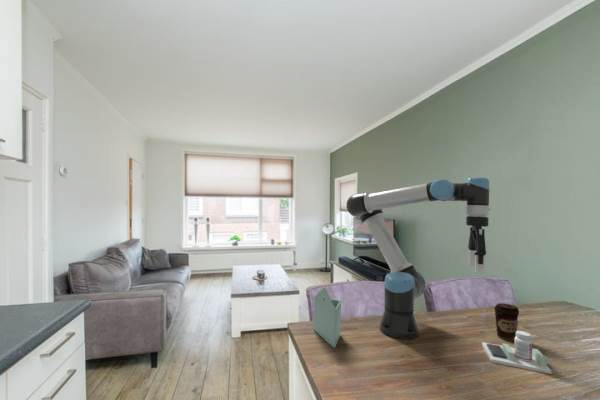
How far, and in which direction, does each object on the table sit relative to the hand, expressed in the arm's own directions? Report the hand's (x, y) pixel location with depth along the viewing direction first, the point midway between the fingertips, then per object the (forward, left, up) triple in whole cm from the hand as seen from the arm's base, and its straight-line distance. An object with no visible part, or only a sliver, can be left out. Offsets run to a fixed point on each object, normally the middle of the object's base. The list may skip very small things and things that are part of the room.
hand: (475, 269), depth 109 cm
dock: (+9, -10, -28) cm, 31 cm away
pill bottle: (+12, -11, -27) cm, 32 cm away
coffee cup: (+12, +8, -28) cm, 32 cm away
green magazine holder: (-53, -22, -28) cm, 64 cm away
